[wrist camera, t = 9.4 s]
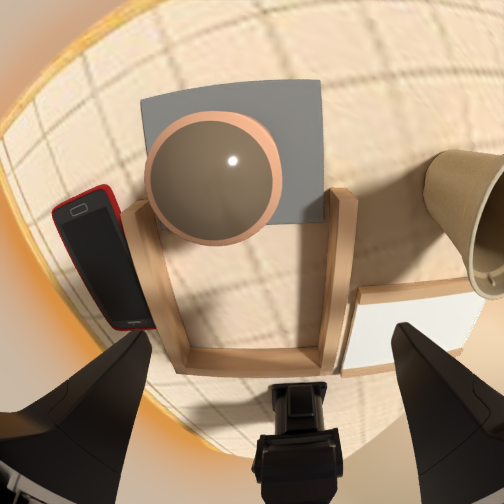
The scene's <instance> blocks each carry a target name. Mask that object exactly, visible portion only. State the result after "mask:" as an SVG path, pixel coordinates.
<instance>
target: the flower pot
mask: <svg viewBox="0 0 504 504" xmlns="http://www.w3.org/2000/svg"><path fill="white" fill-rule="evenodd" d="M423 197H424V201H425V205H426V208H427V210H428V212H429V213H430V215H431V216H432V217H433V218H434V219H435V220H436V222H437V223H438V224H439V225H440V226H441V228H442V229H443V230H444V232H445V233H446V234H447V236H448V237H449V238H450V240H451V241H452V243H453V244H454V245H455V247H456V248H457V250H458V251H459V253H460V254H461V255H462V259H463V262H464V265H465V267H466V269H467V274H468V279H469V282H470V284H471V286H472V288H473V289H474V291H475V292H476V293H477V294H478V295H479V296H480V297H483V298H485V299H488V300H495V299H500V298H503V297H504V154H503V155H493V154H486V153H478V152H470V151H462V150H447V151H444V152H443V153H441V154H439V155H438V156H437V157H436V158H435V159H434V160H433V161H432V163H431V164H430V166H429V168H428V169H427V172H426V178H425V186H424V191H423Z"/></svg>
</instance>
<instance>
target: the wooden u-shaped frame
mask: <svg viewBox="0 0 504 504" xmlns="http://www.w3.org/2000/svg"><path fill="white" fill-rule="evenodd" d="M357 212H358V200H357V198H356V197H355V196H354V195H353V194H352V193H351V192H350V191H349V190H348V189H347V188H330V214H329V236H328V253H327V267H326V279H325V290H324V300H323V310H322V319H321V327H320V335H319V342H318V347H308V348H284V349H219V348H196V347H190V344H189V341H188V338H187V335H186V332H185V329H184V326H183V323H182V319H181V316H180V313H179V310H178V306H177V303H176V300H175V296H174V293H173V289H172V286H171V282H170V279H169V275H168V271H167V267H166V264H165V260H164V256H163V252H162V248H161V244H160V239H159V235H158V231H157V226H156V222H155V217H154V213H153V208H152V207H151V205H150V202H149V200H148V199H147V200H139V201H136V202H135V203H133V204H132V205H131V206H130V207H128V208H127V209H126V210H124V211H123V212H122V213H121V214H120V216H121V220H122V224H123V228H124V232H125V235H126V239H127V242H128V246H129V249H130V253H131V256H132V259H133V263H134V266H135V269H136V272H137V275H138V278H139V281H140V284H141V287H142V290H143V293H144V296H145V298H146V301H147V304H148V307H149V309H150V312H151V315H152V317H153V320H154V323H155V325H156V328H157V330H158V333H159V335H160V337H161V340H162V342H163V345H164V347H165V349H166V352H167V354H168V356H169V358H170V361H171V363H172V365H173V367H174V369H175V372H176V374H185V375H197V376H211V377H233V378H287V377H308V376H323V375H332V372H333V367H334V363H335V359H336V354H337V350H338V345H339V340H340V336H341V331H342V325H343V320H344V315H345V309H346V303H347V297H348V291H349V284H350V277H351V270H352V262H353V254H354V245H355V235H356V224H357Z"/></svg>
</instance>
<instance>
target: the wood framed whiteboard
mask: <svg viewBox="0 0 504 504" xmlns="http://www.w3.org/2000/svg"><path fill="white" fill-rule="evenodd" d="M485 301H486V299H485V298H483V297H480V296H479V295H478V294H477V293H476V292H475V291H474V289H473V288H472V286H471V284H470V282H469V279H468V277H463V278H454V279H445V280H435V281H425V282H415V283H403V284H391V285H378V286H364V287H358V293H357V298H356V304H355V309H354V314H353V319H352V323H351V328H350V332H349V337H348V341H347V345H346V349H345V353H344V357H343V361H342V365H341V369H340V375H341V378H348V377H356V376H364V375H371V374H378V373H384V372H390V371H396V370H395V364H394V359H393V353H392V348H391V338H392V335H393V332H394V329H395V326H396V324H397V323H401V322H408V323H410V324H411V325H412V326H414V327H415V328H416V329H418V330H419V331H420V332H422V333H423V334H424V335H426V336H427V337H428V338H430V339H431V340H432V341H433V342H435V343H436V344H437V345H439V346H440V347H441V348H442V349H444V350H445V351H446V352H448V353H449V354H450V355H451V356H453V357H456V356H460V354H461V352H462V351H463V348H462V347H463V344H464V343H465V341H466V339H467V338H468V336H469V334H470V332H471V330H472V328H473V326H474V324H475V322H476V320H477V318H478V316H479V314H480V312H481V309H482V307H483V305H484V303H485Z"/></svg>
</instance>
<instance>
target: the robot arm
mask: <svg viewBox="0 0 504 504" xmlns="http://www.w3.org/2000/svg"><path fill="white" fill-rule="evenodd" d="M391 348H392V353H393V359H394V364H395V370H396V376H397V381H398V385H399V389H400V392H401V396H402V400H403V404H404V408H405V412H406V415H407V420H408V424H409V429H410V433H411V438H412V443H413V448H414V453H415V458H416V464H417V470H418V476H419V477H418V478H419V485H420V493H421V502H422V504H504V396H503V395H502V394H500V393H498V392H497V391H496V390H494V389H493V388H491V387H490V386H489V385H488V384H486V383H485V382H484V381H482V380H481V379H480V378H479V377H477V376H476V375H475V374H473V373H472V372H471V371H470V370H469V369H468V368H466V367H465V366H464V365H463V364H461V363H460V362H459V361H457V360H456V359H455V358H454V357H453V356H451V355H450V354H449V353H448V352H446V351H445V350H444V349H442V348H441V347H440V346H439V345H437V344H436V343H435V342H433V341H432V340H431V339H430V338H428V337H427V336H426V335H424V334H423V333H422V332H420V331H419V330H418V329H416V328H415V327H414V326H412V325H411V324H410V323H408V322H401V323H397V324H396V326H395V329H394V332H393V335H392V338H391ZM151 353H152V346H151V343H150V341H149V339H148V336H147V334H146V332H145V331H144V330H138V329H135V330H133V331H131V332H130V333H128V334H127V335H126V336H124V337H123V338H122V339H120V340H119V341H118V342H116V343H115V344H114V345H112V346H111V347H110V348H108V349H107V350H106V351H104V352H103V353H102V354H101V355H99V356H98V357H97V358H95V359H94V360H93V361H91V362H90V363H89V364H87V365H86V366H85V367H84V368H82V369H81V370H79V371H78V372H77V373H75V374H74V375H73V376H71V377H70V378H69V380H66V381H65V382H63V383H62V384H61V385H59V386H58V387H57V388H55V389H54V390H52V391H51V392H49V393H48V394H46V395H45V396H44V397H42V398H40V399H39V400H37V401H35V402H34V403H32V404H31V405H29V406H27V407H26V408H24V409H22V410H20V411H17V412H11V413H6V412H0V504H115V501H116V496H117V491H118V486H119V481H120V477H121V472H122V468H123V464H124V460H125V455H126V451H127V447H128V444H129V439H130V436H131V432H132V429H133V425H134V421H135V418H136V414H137V411H138V407H139V404H140V400H141V397H142V394H143V391H144V387H145V383H146V378H147V373H148V368H149V363H150V358H151ZM326 390H327V383H325V382H322V383H307V384H285V385H273V386H272V405H273V411H275V435H260V439H259V440H257V450H256V455H255V458H254V461H253V465H252V468H251V470H252V472H253V473H254V474H255V476H256V480H257V483H259V484H261V496H262V498H263V500H264V502H265V503H266V504H329V503H330V501H331V500H332V498H333V497H334V495H335V493H336V492H337V478H339V477H342V476H343V458H342V451H341V444H340V439H339V433H338V428H333V429H330V430H325V429H324V418H323V408H322V405H323V401H324V397H325V393H326Z"/></svg>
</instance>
